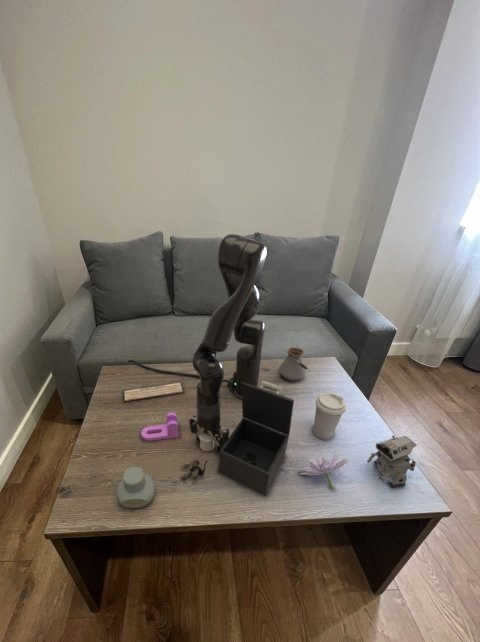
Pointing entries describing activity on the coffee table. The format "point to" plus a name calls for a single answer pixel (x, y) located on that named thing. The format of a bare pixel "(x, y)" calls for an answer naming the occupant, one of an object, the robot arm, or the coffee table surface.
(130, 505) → the air freshener
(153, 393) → the wooden plank
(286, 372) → the coffee pot
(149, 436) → the bracket
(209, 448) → the coffee pod
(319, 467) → the water lily
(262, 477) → the open lidded box
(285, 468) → the coffee table surface
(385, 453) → the figurine
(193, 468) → the creature
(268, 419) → the lid
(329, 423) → the coffee cup
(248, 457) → the cylinder
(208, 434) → the robot arm
